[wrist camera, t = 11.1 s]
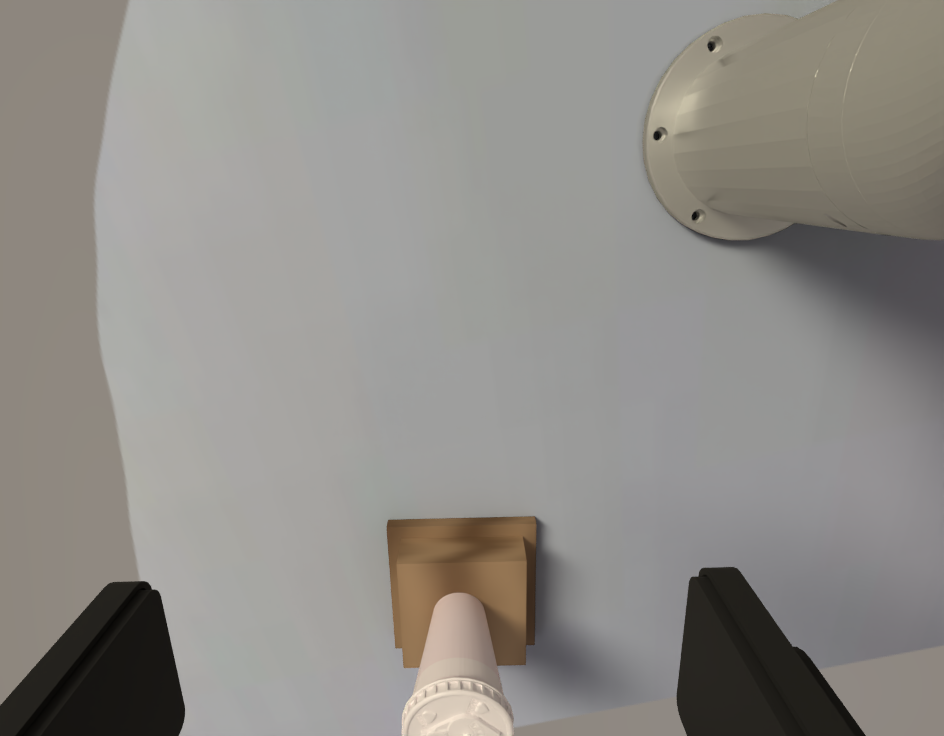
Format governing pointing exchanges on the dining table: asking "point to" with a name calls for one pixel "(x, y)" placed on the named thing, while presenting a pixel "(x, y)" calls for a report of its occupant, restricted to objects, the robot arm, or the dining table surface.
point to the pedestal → (464, 579)
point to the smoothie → (458, 676)
